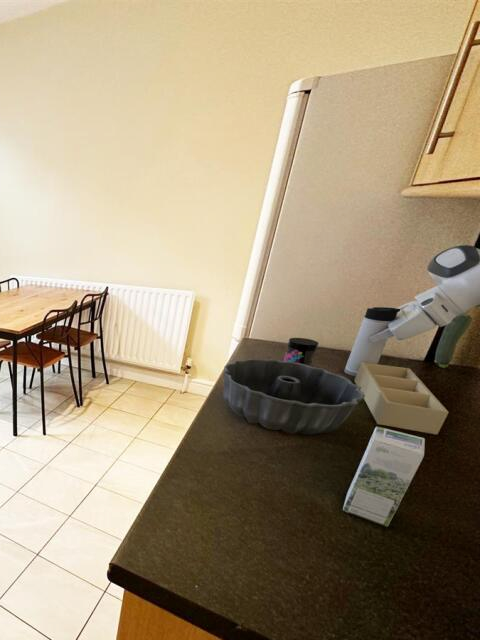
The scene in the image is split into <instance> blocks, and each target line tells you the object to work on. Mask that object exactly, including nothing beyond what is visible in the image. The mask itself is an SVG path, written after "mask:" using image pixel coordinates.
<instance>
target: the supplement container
mask: <svg viewBox="0 0 480 640" xmlns="http://www.w3.org/2000/svg"><path fill="white" fill-rule="evenodd" d="M318 346H319V341H317V340H314V339H310V338H305V337H290V338H289V339H288V341H287V346H286V349H285V353H284V356H283V359H282V361H283V362H295V363H300V364H305V365H308V366H311V367H312V364H313V361H314V359H315V356H316V352H317V349H318Z"/></svg>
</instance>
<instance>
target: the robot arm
mask: <svg viewBox="0 0 480 640" xmlns="http://www.w3.org/2000/svg"><path fill="white" fill-rule="evenodd" d="M426 269H427V271H428V274H429V276H430V277H431V278H432V280H433V281H434V282H435V283H436V286H433V287H431V288H429V289H428V290H427V289H426V290H425V291H423V292H421V293H419V294H417V295H415V296H414V300H411V301H409V302H406V303H404V304H402V305H400V306H398V307H397V308H398V309H400V312H398V313H397V316H396V317H395V319H394V320H392V321H391V322H390V323H388V327H389V328H388V329H386V330H384V331H383V332H380V333H378V334H374V335H372V336H370V337H369V339H370V340H371V341H372V342H373V343H375V342H378V341H380V340H383V339H387V338H388V339H390V338H393V337H394V338H395V339H396V340H397V341H403V340H407V339H409V338H413V337H415V336H418V335H421V334H423V333H425V332H428V331H430V330H433V329H434V328H436V327H439V328H442V327H445V326H446V325H447V324H449V323H451V321H452V320H453V318H455V317H456V316H459V315H461V314H463V313H465V312H467V311H468V310H470V309H471V308H473V309H474V308H477V307H478V308H479V307H480V248H477V247H476V246H474V245H468V244H463V245H461V244H460V245H456V246H452V247H449V248H447V249H444V250H442V251H441V252H439V253H437V254H435V256H434V257H433V258H432V259H430V261H429V262H428V264H427V267H426ZM388 339H387V340H388Z"/></svg>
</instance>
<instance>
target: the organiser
mask: <svg viewBox="0 0 480 640" xmlns="http://www.w3.org/2000/svg"><path fill="white" fill-rule="evenodd" d="M354 384H355V385H358V386H360V387H361V389H360V391H362V392H363V393H364V395H365V397H364V399H363V400H364V402H365V403H366V405H367V408H368V409H369V411H370V413H371V414H372V417H373V419H374V421H375V422H376V425H381V426H386V427H393V428H397V429H404V430H409V431H415V432H420V433H424V434H431V435H432V434H433V435H438V434H439V432H440V430H441V428H442V427H443V425H444V422H445V420H446V418H447V417H448V414H449V411H448V410H447V409H446V407H445V406H444V405H443V403H441V402H440V400H438V398H437V397H436V396H435V395H434V394H433V393H432V392H431V390H429V388H428V387H427V386H426V385H425V384H424V383H423V381H422V380H421V379H420V378H419V377H418V376H417V375H416V373H415V372H414V371H413V370H412V369H411V368H410V367H400V366H393V365H384V364H379V363H378V364H370V363H361V365H360V367H359V370H358V372H357V375H356V377H354Z"/></svg>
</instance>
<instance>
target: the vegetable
mask: <svg viewBox="0 0 480 640" xmlns="http://www.w3.org/2000/svg"><path fill="white" fill-rule="evenodd" d="M473 310H474V307H473V308H471V309H470V310H468V311H467V312H465V313H463V314H461V315H459V316H456V317H455V318H453V320H452V321H451V323H449V324H447V325H445V326H444V329H443V331H442V333H441V336H440V338H439V341H438V343H437V346H436V350H435V356H434V361H435V363H436V364H437V365H438V366H439V367H440V368H443V369H445V368H448V367H449V366H450V363H451V362H452V360H453V358H454V354H455V351H456V347H457V344H458V342H459V341H460V339H461V338H462V337H463V336H464V335H465V334H466V332H467V330H468V329H469V328H470V327H471V324H472V321H473V318H472V317H471V315H470V313H471V312H472V311H473Z"/></svg>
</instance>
